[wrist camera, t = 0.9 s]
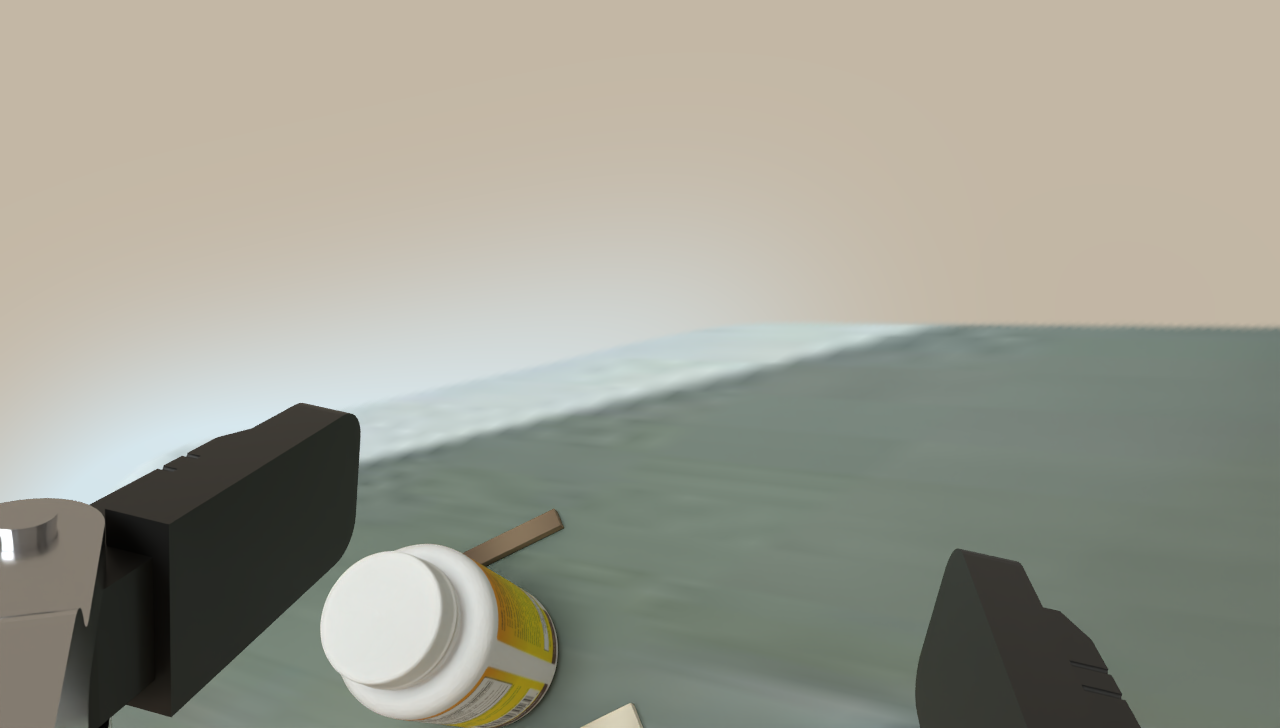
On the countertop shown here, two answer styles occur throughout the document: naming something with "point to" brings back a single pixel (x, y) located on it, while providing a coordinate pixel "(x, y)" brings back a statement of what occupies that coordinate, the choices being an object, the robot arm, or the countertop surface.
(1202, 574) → the countertop surface
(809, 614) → the countertop surface
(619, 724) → the game track
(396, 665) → the supplement bottle
